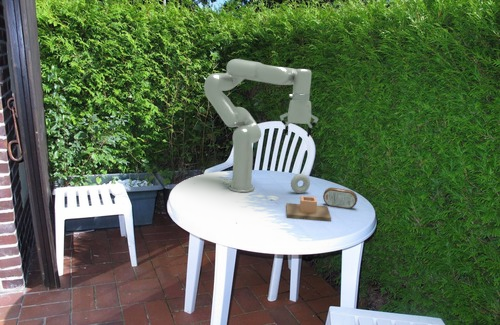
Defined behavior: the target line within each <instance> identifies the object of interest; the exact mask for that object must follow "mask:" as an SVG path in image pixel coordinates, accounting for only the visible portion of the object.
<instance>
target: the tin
mask: <svg viewBox="0 0 500 325" xmlns="http://www.w3.org/2000/svg"><path fill="white" fill-rule="evenodd" d="M322 197H323V199H322V200H323V202H324V203H325V204H326V206H328V207H329V206H330V207H335V208H341V209H345V210H346V209H347V210H349V209H352V208H354V207H355V206H356V205H357V202H358V197H357V194H356V193H355V192H354V191H353V190H351V189H344V188H338V187H333V186H332V187H328V188H326V189H325V191H324V192H323V195H322Z"/></svg>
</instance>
